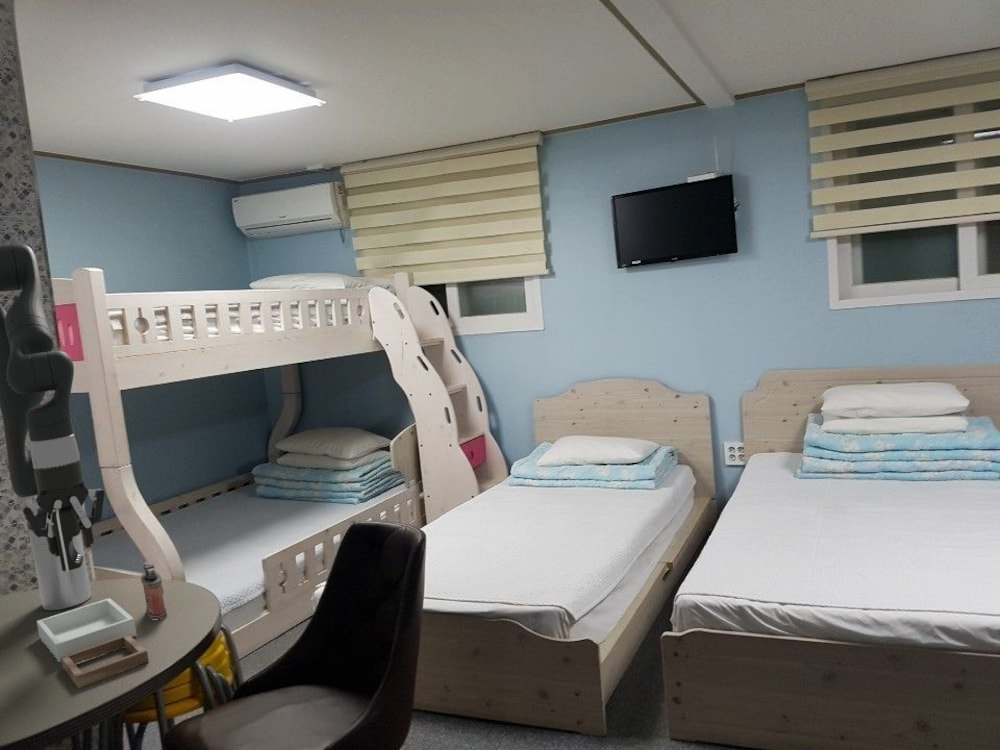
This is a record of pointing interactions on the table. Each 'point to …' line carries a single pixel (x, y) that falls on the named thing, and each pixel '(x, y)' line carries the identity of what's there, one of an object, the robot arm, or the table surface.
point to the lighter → (153, 592)
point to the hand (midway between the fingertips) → (72, 550)
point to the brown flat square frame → (107, 669)
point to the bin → (85, 627)
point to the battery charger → (67, 537)
